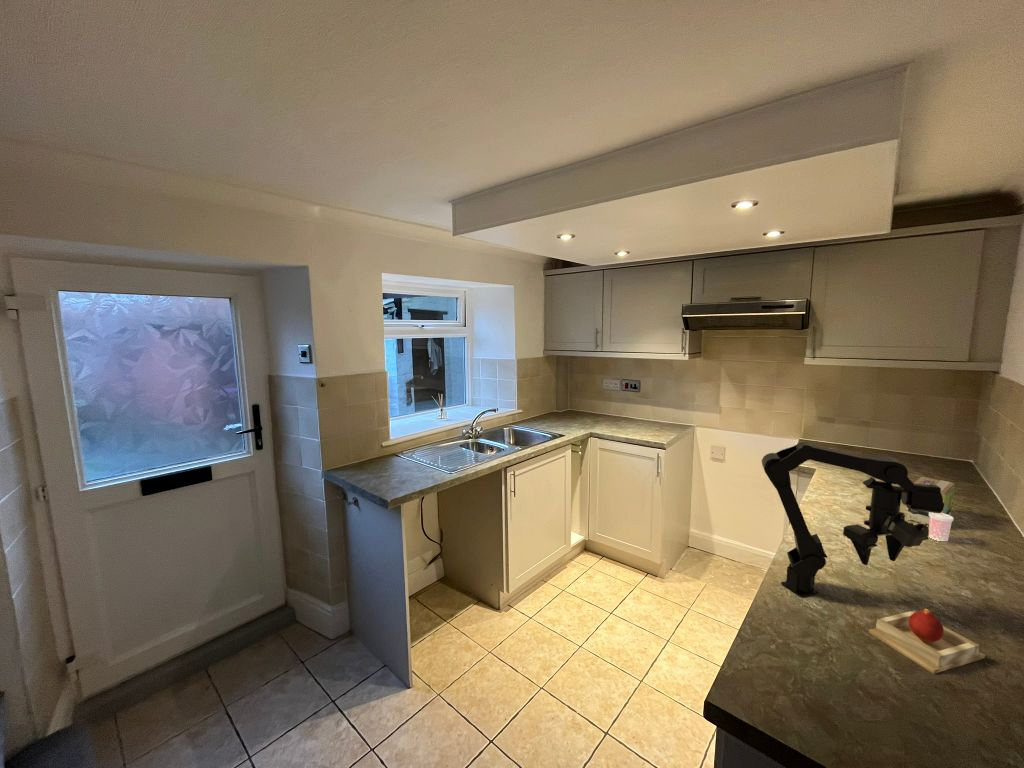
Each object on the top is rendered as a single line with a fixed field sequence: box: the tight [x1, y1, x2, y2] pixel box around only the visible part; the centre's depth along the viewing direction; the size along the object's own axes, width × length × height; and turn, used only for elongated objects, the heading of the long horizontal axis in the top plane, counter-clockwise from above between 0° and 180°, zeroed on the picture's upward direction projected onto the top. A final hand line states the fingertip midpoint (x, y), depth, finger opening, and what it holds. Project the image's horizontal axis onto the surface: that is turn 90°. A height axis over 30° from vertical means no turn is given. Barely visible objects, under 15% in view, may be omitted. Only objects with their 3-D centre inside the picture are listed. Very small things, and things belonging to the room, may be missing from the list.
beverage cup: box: [928, 512, 954, 541], centre depth 147 cm, size 6×6×14 cm
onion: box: [909, 608, 944, 643], centre depth 99 cm, size 6×6×8 cm
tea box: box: [906, 475, 956, 523], centre depth 164 cm, size 15×10×15 cm
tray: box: [868, 610, 986, 675], centre depth 99 cm, size 16×13×3 cm
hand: (878, 562), depth 113 cm, fingers open, 9 cm apart
